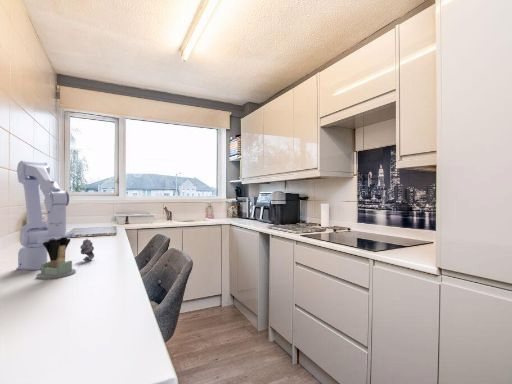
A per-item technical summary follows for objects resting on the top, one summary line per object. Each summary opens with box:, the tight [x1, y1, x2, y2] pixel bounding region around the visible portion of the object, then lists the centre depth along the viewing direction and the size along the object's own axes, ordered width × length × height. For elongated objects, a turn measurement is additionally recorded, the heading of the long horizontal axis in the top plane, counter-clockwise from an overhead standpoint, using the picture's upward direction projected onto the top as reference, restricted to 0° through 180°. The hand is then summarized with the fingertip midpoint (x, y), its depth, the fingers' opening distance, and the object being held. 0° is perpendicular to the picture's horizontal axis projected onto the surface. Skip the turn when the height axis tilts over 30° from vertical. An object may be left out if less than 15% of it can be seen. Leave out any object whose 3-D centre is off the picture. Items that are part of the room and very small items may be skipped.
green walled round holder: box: [36, 260, 76, 280], centre depth 106 cm, size 12×12×5 cm
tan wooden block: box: [49, 245, 67, 268], centre depth 106 cm, size 4×2×9 cm, turn 82°
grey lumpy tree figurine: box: [79, 238, 95, 262], centre depth 128 cm, size 5×5×10 cm
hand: (56, 259), depth 106 cm, fingers closed on tan wooden block, 2 cm apart
